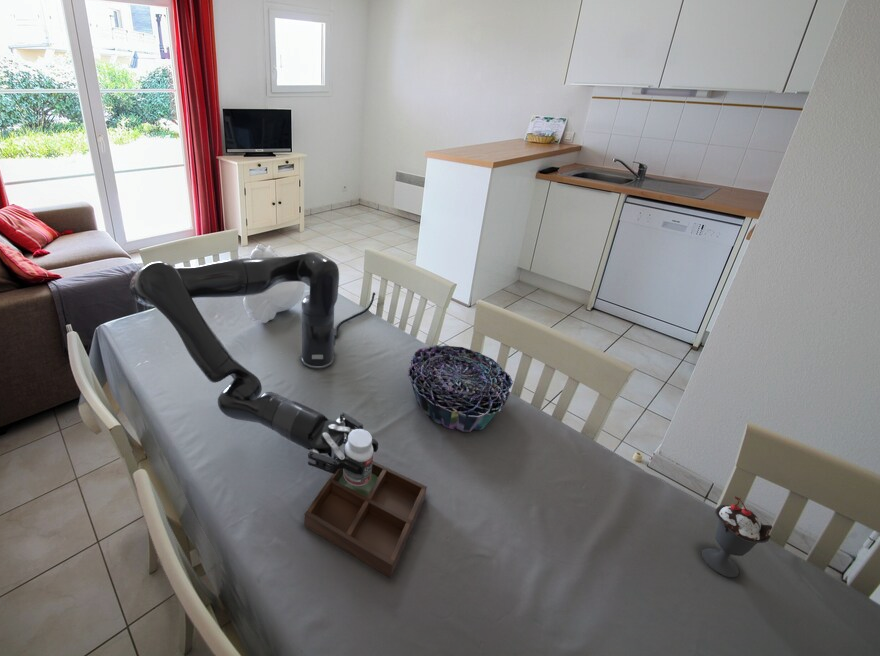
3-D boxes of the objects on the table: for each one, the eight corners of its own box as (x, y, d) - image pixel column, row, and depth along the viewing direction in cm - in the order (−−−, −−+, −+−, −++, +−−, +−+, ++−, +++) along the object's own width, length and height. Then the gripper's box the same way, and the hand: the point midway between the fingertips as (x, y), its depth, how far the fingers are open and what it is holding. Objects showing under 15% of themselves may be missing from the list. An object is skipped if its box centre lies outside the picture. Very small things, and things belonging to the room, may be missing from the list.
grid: (348, 460, 94) (349, 449, 93) (425, 498, 86) (427, 486, 84) (304, 526, 80) (304, 513, 79) (390, 578, 72) (392, 565, 70)
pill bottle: (369, 490, 84) (373, 452, 80) (340, 484, 85) (342, 446, 81) (372, 466, 89) (376, 429, 85) (345, 460, 90) (347, 424, 86)
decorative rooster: (289, 275, 166) (249, 234, 151) (317, 280, 155) (277, 237, 140) (254, 330, 157) (207, 293, 142) (282, 340, 146) (234, 301, 131)
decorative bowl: (504, 387, 120) (510, 356, 117) (510, 456, 95) (518, 419, 92) (413, 367, 128) (416, 337, 125) (396, 426, 103) (400, 391, 100)
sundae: (685, 545, 78) (715, 485, 72) (719, 542, 78) (751, 483, 73) (719, 584, 72) (754, 523, 66) (755, 581, 72) (794, 520, 67)
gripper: (278, 431, 84) (354, 470, 76) (317, 390, 95) (387, 420, 88) (278, 459, 87) (352, 500, 79) (316, 416, 98) (384, 448, 90)
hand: (370, 458), depth 83 cm, fingers closed on pill bottle, 5 cm apart
